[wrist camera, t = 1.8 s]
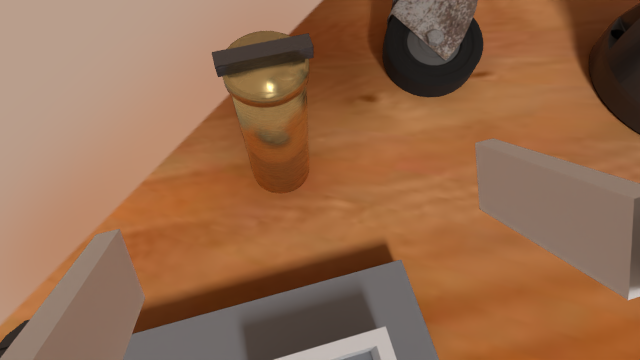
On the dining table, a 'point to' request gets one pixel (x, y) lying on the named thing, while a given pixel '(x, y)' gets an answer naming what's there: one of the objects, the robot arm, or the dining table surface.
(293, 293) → the board
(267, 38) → the amber translucent cylinder
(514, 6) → the dining table surface
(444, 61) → the caster wheel
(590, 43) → the dining table surface
